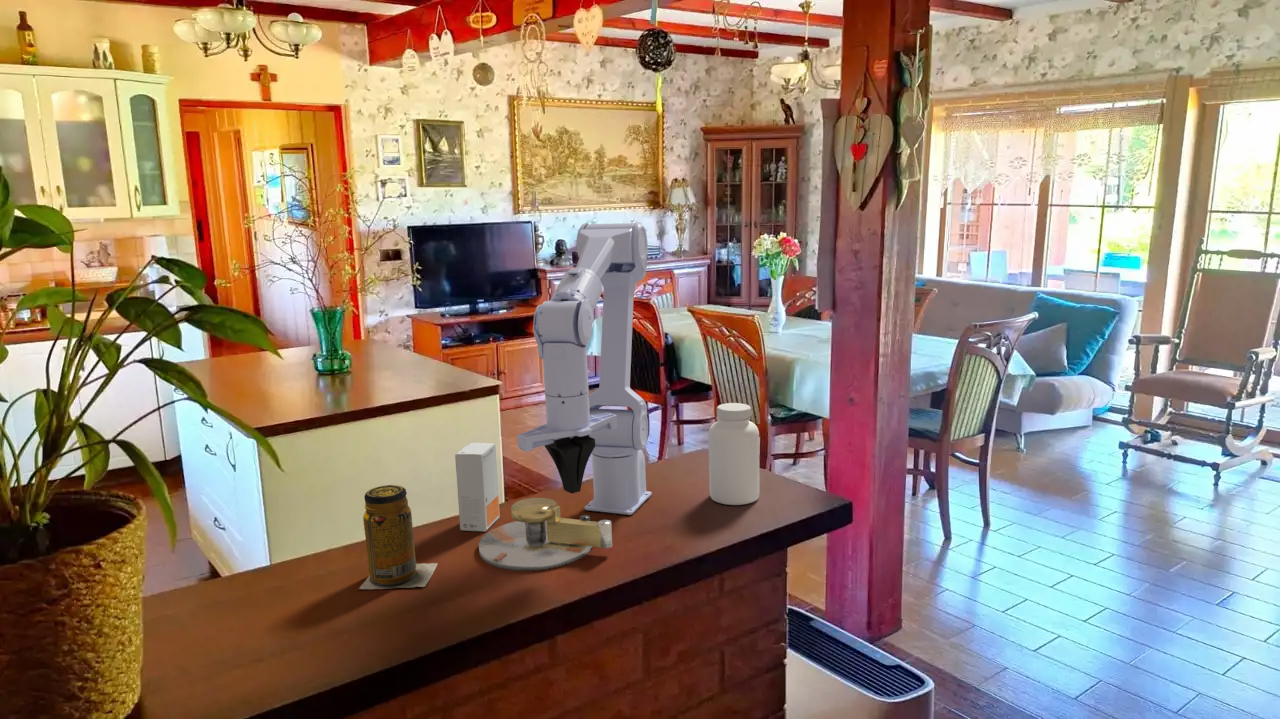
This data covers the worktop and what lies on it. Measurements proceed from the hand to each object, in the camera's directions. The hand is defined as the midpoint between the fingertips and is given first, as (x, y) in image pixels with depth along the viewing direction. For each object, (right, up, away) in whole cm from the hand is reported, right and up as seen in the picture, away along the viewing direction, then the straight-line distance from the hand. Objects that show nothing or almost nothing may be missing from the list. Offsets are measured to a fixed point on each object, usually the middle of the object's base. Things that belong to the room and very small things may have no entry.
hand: (572, 490), depth 117 cm
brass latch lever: (-2, -8, +5) cm, 9 cm away
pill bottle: (+24, -5, +23) cm, 34 cm away
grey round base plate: (-6, -9, +7) cm, 12 cm away
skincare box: (-15, -8, +15) cm, 23 cm away
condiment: (-23, -11, -2) cm, 25 cm away
